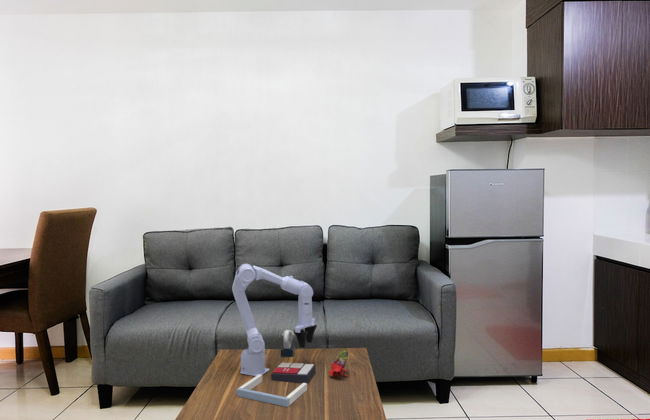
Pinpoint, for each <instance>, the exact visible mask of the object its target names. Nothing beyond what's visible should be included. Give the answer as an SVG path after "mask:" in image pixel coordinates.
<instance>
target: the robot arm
mask: <svg viewBox="0 0 650 420" xmlns="http://www.w3.org/2000/svg"><path fill="white" fill-rule="evenodd" d="M254 280H255V281H259V280H266V281H267V282H271V283H274V284H277V285H280V289H281V290H283V291H286V292H288V293H291V294H292V295H298V296H297V297H298V300H297V301H298V303H297V308H298V313H297V314H298V316H297V317H298V323H297V325H296V326H295V327H294V330H293V333H294V336H295V337H296V339H297V342H298V346H299V348H303V349H304V348H306V343H310V344H312V343H313V340H314V335H315V331H316V329H317V327H318V326H317V324H316V318H314V317H313V301H312V300H313V299H312V297H313V295H314V290H313V288H312V286H311V285H310V284H308V283H307V282H305V281H303V280H299V279H296V278H294V276H292V275H289V276H288V275H286V276H283V277H282V276H280V275H278V274H276V273H274V272H271V271H269V270H268V269H265V268H262V267H259V266H257V265H251V264H250V263H242V264H241V265H239V267H238V269H237V270H236V272H235V275H234V279H233V282H232V286H231V290H232V295H233V297H234V299H235V302H236V306H237V309H238V311H239V314H240V317H241V320H242V323H243V326H244V329H245V332H246V335H247V337H246V340H247V344H248V347H247V348H245V349H243V350H242V352H241V354H240V372H239V374H241V375H243V374H244V375H246V376H252V377H256V376H257V375H259V374H260V375H262V376H263V375H264V374H266V373H267V372H269V371H270V368H267V367H266V348H265V346H266V344H265V340H264V339H263V334H262V333H261V332H260V331H259V329H258V327H257V324H256V321H255V318H254V315H253V313H252V310H251V309H252V308H251V307H250V304H249V301H248V298H247V295H246V292H245V291H246V289H247V288H248V286H249V285H250V284H251V283H252V282H254Z"/></svg>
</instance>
